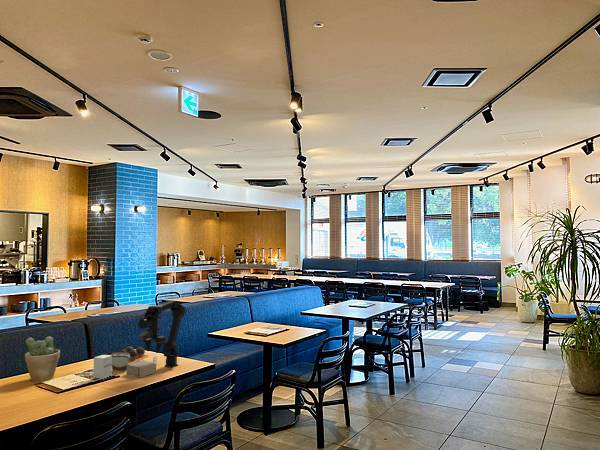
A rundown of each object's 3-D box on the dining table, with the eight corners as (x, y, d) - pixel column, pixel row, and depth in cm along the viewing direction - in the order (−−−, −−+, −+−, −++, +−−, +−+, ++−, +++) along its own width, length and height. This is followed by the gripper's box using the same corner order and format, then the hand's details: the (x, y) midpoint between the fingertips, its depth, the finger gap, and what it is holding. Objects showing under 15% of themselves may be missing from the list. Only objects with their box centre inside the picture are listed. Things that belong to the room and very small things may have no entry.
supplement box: (103, 379, 264) (103, 358, 265) (93, 378, 267) (93, 357, 267) (112, 376, 271) (112, 355, 272) (102, 375, 274) (102, 354, 274)
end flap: (155, 372, 278) (155, 356, 279) (156, 372, 278) (156, 356, 278) (138, 376, 269) (139, 360, 269) (140, 377, 268) (140, 360, 268)
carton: (143, 369, 285) (143, 360, 286) (155, 372, 279) (155, 362, 279) (126, 374, 275) (126, 364, 276) (138, 377, 269) (138, 367, 269)
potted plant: (48, 372, 280) (49, 332, 281) (66, 377, 270) (67, 335, 272) (17, 380, 264) (18, 337, 265) (36, 385, 255) (36, 340, 256)
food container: (133, 368, 289) (133, 352, 289) (128, 371, 283) (128, 355, 283) (115, 368, 290) (115, 352, 290) (110, 370, 284) (110, 354, 284)
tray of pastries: (127, 356, 323) (127, 344, 323) (148, 357, 319) (148, 345, 320) (103, 366, 295) (103, 353, 296) (125, 367, 292) (126, 354, 292)
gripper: (133, 326, 278) (132, 352, 277) (151, 329, 267) (150, 356, 266) (148, 324, 287) (147, 349, 286) (166, 327, 276) (166, 353, 274)
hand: (152, 352), depth 278 cm, fingers open, 9 cm apart
